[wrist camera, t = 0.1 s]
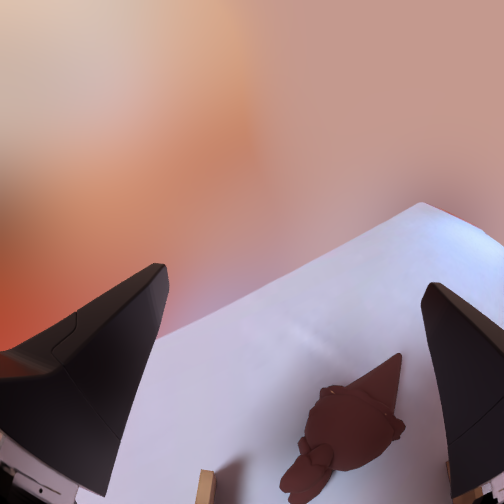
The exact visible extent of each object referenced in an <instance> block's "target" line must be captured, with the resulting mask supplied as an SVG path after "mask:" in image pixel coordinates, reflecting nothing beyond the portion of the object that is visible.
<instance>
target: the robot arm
mask: <svg viewBox="0 0 504 504" xmlns="http://www.w3.org/2000/svg"><path fill="white" fill-rule="evenodd" d="M168 293H169V279H168V273H167V267H166V266H165V264H159V263H153V264H151V265H149V266H148V267H146V268H145V269H143V270H141V271H140V272H138V273H136V274H135V275H133V276H132V277H130V278H128V279H127V280H125V281H123V282H121V283H120V284H118V285H117V286H115V287H113V288H112V289H110V290H109V291H107V292H105V293H104V294H102V295H101V296H99V297H97V298H96V299H94V300H93V301H91V302H89V303H88V304H86V305H85V306H83V307H82V308H80V309H78V310H77V312H74V313H72V314H71V315H69V316H68V317H66V318H64V319H63V320H61V321H60V322H58V323H56V324H55V325H53V326H51V327H50V328H48V329H46V330H44V331H43V332H41V333H39V334H37V335H35V336H34V337H32V338H30V339H28V340H26V341H25V342H23V343H21V344H19V345H17V346H16V347H14V348H12V349H9V350H6V351H1V352H0V504H77V503H76V501H75V498H76V494H77V491H78V488H79V487H81V488H83V489H85V490H88V491H90V492H92V493H95V494H97V495H100V496H102V497H105V495H106V492H107V489H108V485H109V481H110V477H111V474H112V470H113V467H114V463H115V460H116V456H117V453H118V449H119V446H120V443H121V441H120V440H121V439H122V436H123V432H124V429H125V426H126V423H127V420H128V416H129V413H130V410H131V407H132V404H133V401H134V398H135V395H136V392H137V389H138V386H139V383H140V381H141V378H142V375H143V372H144V369H145V366H146V364H147V361H148V358H149V355H150V353H151V350H152V347H153V344H154V342H155V339H156V336H157V334H158V331H159V327H160V324H161V320H162V316H163V312H164V308H165V304H166V300H167V296H168ZM421 310H422V315H423V320H424V326H425V331H426V337H427V342H428V347H429V351H430V354H431V358H432V362H433V367H434V371H435V375H436V380H437V385H438V389H439V394H440V400H441V405H442V411H443V417H444V423H445V430H446V437H447V445H448V456H449V468H450V483H451V498H452V499H454V498H456V497H459V496H461V495H464V494H466V493H468V492H471V491H473V490H475V489H477V488H479V487H482V486H484V485H486V484H488V483H490V484H491V489H492V491H491V492H489V493H487V494H485V495H483V496H481V497H479V498H477V499H475V500H474V501H473V503H472V504H504V330H503V329H502V328H500V327H499V326H498V325H497V324H495V323H494V322H493V321H491V320H490V319H489V318H488V317H486V316H485V315H484V314H482V313H481V312H480V311H478V310H477V309H476V308H474V307H473V306H472V305H470V304H469V303H468V302H466V301H465V300H464V299H462V298H461V297H459V296H458V295H457V294H455V293H454V292H452V291H451V290H450V289H448V288H447V287H445V286H444V285H443V284H441V283H436V282H431V283H430V284H429V285H428V287H427V289H426V291H425V293H424V296H423V298H422V300H421Z"/></svg>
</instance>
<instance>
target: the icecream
mask: <svg viewBox="0 0 504 504" xmlns="http://www.w3.org/2000/svg"><path fill="white" fill-rule="evenodd" d="M401 362H402V355H401V354H400V353H397V354H395V355H394V356H392V357H391V358H389V359H388V360H387V361H385V362H384V363H382V364H381V365H379V366H378V367H376V368H375V369H373V370H372V371H370V372H369V373H367V374H366V375H364V376H362V377H361V378H359V379H358V380H356V381H354V382H353V383H351V384H350V385H348V386H346V387H343V386H337V385H333V386H329V387H327V388H322V389H321V390H320V399H319V401H317V402H316V404H315V406H314V407H313V408H312V409H311V410H310V412H309V418H308V420H307V424H306V427H305V431H304V433H305V437H302V438H301V439H300V441H299V442H298V447H299V451H300V454H301V455H300V456H299V457H298V458H297V459H296V461H295V462H294V464H293V465H292V466H291V467H290V468H289V469H288V470H287V471H286V473H285V474H284V476H283V477H282V478H281V481H280V487H279V488H280V489H281V490H282V491H283V492H284V493H290V496H289V498H288V502H290V503H291V504H306V503H308V502H309V501H310V500H312V499H313V498H314V497H316V496H317V495H318V494H320V492H321V491H322V489H323V488H324V486H325V485H326V483H327V482H328V480H329V479H330V476H331V473H332V471H333V470H339V471H349V470H353V469H357V468H359V467H361V466H363V465H365V464H367V463H368V462H370V461H372V460H373V459H375V458H377V457H378V456H380V455H381V454H382V453H383V452H384V451H385V449H386V448H387V447H388V446H389V445H390V444H391V441H394V440H398V439H400V435H401V434H402V432H403V431H404V430H405V427H406V426H405V424H404V423H403V421H402V420H400V419H397V418H396V417H395V416H394V409H395V404H396V398H397V391H398V385H399V377H400V370H401Z"/></svg>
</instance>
